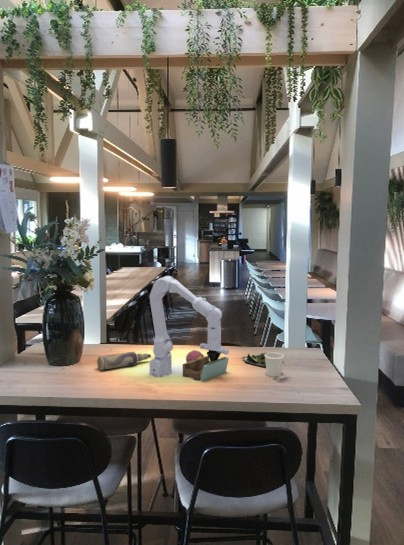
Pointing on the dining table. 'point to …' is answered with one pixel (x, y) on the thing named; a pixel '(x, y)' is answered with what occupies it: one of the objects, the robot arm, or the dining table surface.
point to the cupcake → (193, 355)
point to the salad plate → (256, 360)
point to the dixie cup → (274, 364)
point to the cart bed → (195, 368)
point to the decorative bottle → (120, 360)
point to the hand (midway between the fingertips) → (213, 367)
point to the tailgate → (214, 368)
